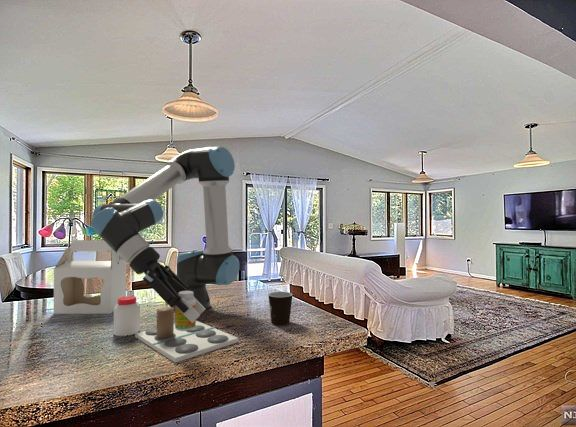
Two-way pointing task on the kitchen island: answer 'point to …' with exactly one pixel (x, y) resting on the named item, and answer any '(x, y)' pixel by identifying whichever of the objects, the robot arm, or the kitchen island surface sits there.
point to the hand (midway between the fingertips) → (199, 315)
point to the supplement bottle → (180, 319)
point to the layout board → (183, 338)
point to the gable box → (71, 272)
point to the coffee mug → (280, 307)
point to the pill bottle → (126, 316)
